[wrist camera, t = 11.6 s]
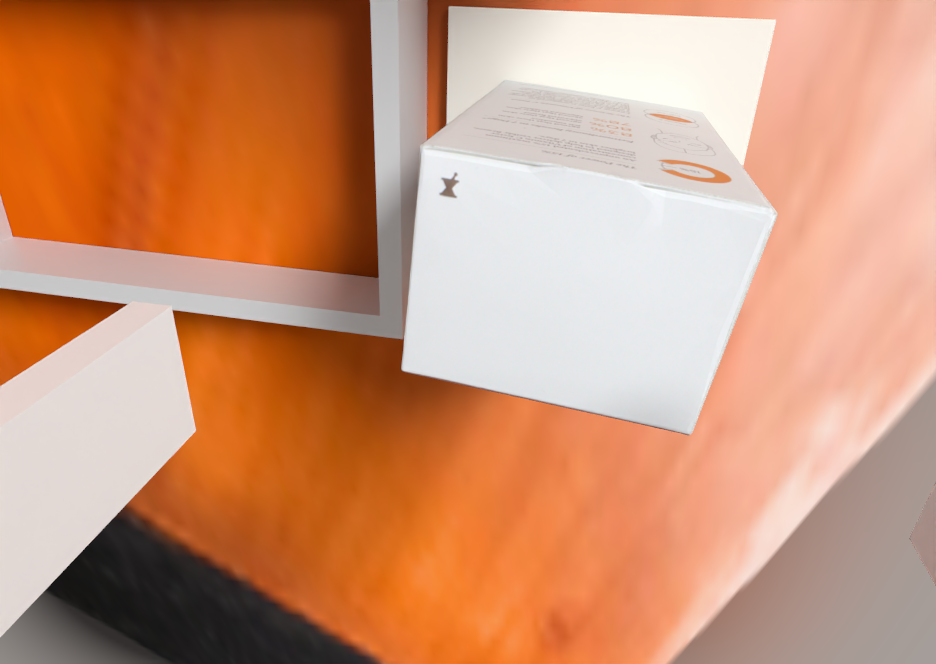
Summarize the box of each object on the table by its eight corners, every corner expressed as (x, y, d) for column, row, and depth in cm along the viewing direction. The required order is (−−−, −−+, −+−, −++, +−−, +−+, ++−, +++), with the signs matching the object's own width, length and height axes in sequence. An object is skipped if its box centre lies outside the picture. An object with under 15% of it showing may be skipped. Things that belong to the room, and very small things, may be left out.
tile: (446, 285, 31) (443, 290, 31) (452, 5, 26) (448, 6, 25) (706, 315, 29) (707, 320, 29) (772, 19, 24) (776, 19, 23)
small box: (480, 227, 29) (391, 374, 18) (502, 76, 26) (413, 136, 15) (664, 263, 28) (695, 443, 17) (708, 110, 25) (785, 203, 14)
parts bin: (2, 252, 36) (-65, 279, 32) (-106, -95, 28) (-208, -108, 25) (426, 302, 32) (402, 339, 28) (427, -85, 25) (396, -99, 21)
